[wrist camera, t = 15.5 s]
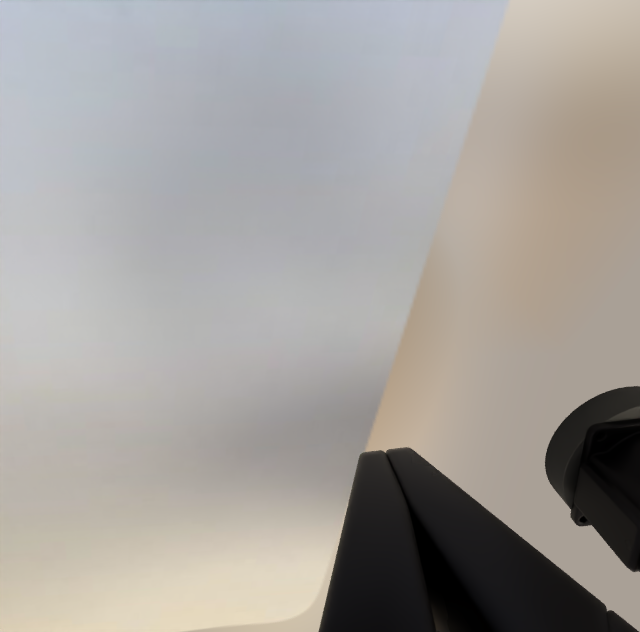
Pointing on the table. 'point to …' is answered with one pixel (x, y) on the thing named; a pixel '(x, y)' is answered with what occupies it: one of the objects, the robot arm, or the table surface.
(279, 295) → the table surface
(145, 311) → the table surface
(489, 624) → the robot arm
